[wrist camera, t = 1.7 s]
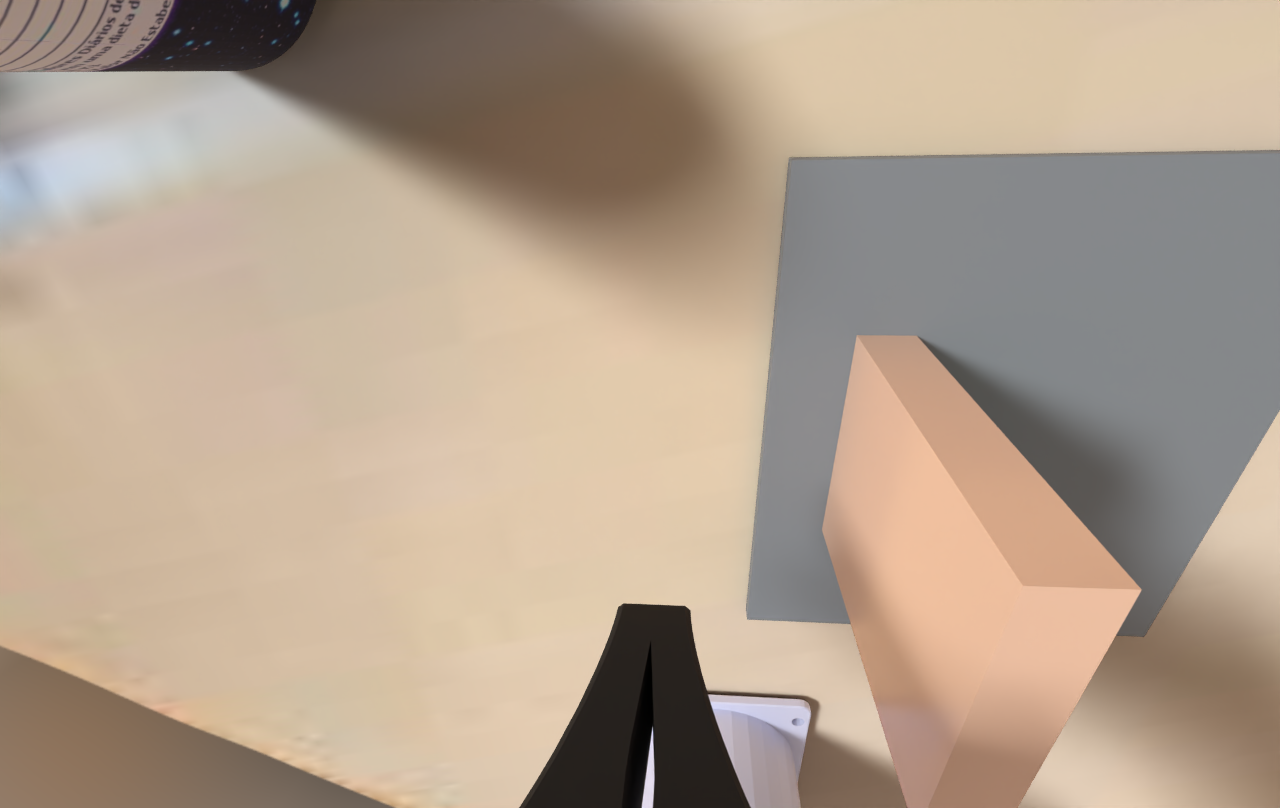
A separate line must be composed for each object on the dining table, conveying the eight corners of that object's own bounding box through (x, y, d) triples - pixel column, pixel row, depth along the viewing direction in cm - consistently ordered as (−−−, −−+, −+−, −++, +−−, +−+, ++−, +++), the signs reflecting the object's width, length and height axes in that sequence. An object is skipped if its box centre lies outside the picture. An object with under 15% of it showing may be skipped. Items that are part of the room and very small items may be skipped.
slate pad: (1134, 625, 21) (1144, 636, 21) (746, 608, 22) (747, 619, 22) (1410, 148, 13) (1434, 150, 13) (789, 157, 14) (792, 160, 14)
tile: (877, 531, 19) (1008, 841, 12) (821, 529, 20) (916, 835, 12) (924, 335, 16) (1157, 590, 8) (856, 335, 16) (1022, 586, 8)
